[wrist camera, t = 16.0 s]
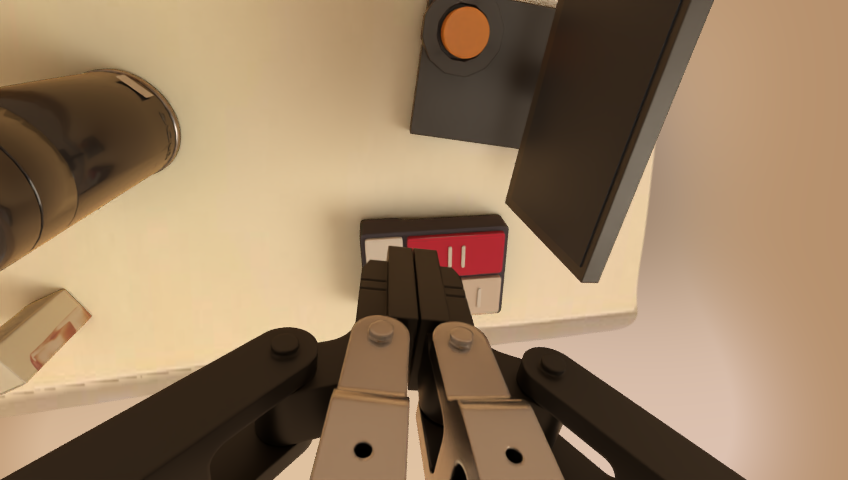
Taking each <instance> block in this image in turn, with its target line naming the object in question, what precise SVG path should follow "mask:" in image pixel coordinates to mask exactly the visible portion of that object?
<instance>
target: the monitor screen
mask: <svg viewBox="0 0 848 480" xmlns="http://www.w3.org/2000/svg"><path fill="white" fill-rule="evenodd" d="M713 1H714V0H558V3H557V7H556V10H555V14H554V18H553V22H552V26H551V30H550V33H549V37H548V41H547V45H546V49H545V52H544V56H543V60H542V64H541V68H540V71H539V75H538V79H537V83H536V87H535V90H534V94H533V98H532V102H531V106H530V109H529V113H528V117H527V121H526V125H525V129H524V132H523V136H522V140H521V144H520V148H519V151H518V155H517V159H516V163H515V167H514V170H513V174H512V178H511V182H510V186H509V189H508V193H507V197H506V201H505V203H506V204H507V205H508V206H509V207H510V208H511V209H512V211H513V212H514V213H515V214H516V215H517V216H518V217H519V218H520V219H521V220H522V221H523V222H524V223H525V224H526V225H527V226H528V227H529V228H530V229H531V230H532V232H533V233H534V234H535V235H536V236H537V237H538V238H539V239H540V240H541V241H542V242H543V243H544V244H545V245H546V246H547V247H548V248H549V249H550V250H551V251H552V252H553V254H554V255H555V256H556V257H557V258H558V259H559V260H560V261H561V262H562V263H563V264H564V265H565V266H566V267H567V268H568V269H569V270H570V271H571V272H572V273H573V274H574V276H575V277H576V278H577V279H578V280H579V281H580V282H581V283H598V282H599V279H600V277H601V275H602V272H603V270H604V267H605V265H606V262H607V260H608V258H609V255H610V253H611V250H612V248H613V245H614V243H615V240H616V238H617V236H618V233H619V231H620V228H621V226H622V223H623V221H624V218H625V216H626V214H627V211H628V209H629V206H630V204H631V201H632V199H633V197H634V194H635V192H636V189H637V187H638V184H639V182H640V179H641V177H642V175H643V172H644V170H645V167H646V165H647V162H648V160H649V158H650V155H651V153H652V150H653V148H654V145H655V143H656V140H657V138H658V136H659V133H660V131H661V128H662V126H663V123H664V121H665V118H666V116H667V114H668V111H669V109H670V106H671V104H672V101H673V99H674V96H675V94H676V91H677V89H678V87H679V84H680V82H681V79H682V77H683V75H684V72H685V70H686V67H687V65H688V62H689V60H690V57H691V55H692V52H693V50H694V48H695V45H696V43H697V40H698V38H699V36H700V33H701V31H702V28H703V26H704V23H705V21H706V18H707V16H708V14H709V11H710V9H711V6H712V4H713Z"/></svg>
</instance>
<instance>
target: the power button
mask: <svg viewBox="0 0 848 480" xmlns="http://www.w3.org/2000/svg"><path fill="white" fill-rule="evenodd" d="M489 34H490V29H489V23H488V21H487V19H486V17H485V15H484V14H483V13H482V12H481V11H480V10H478V9H476V8H474V7H461V8H457V9H455V10H453V11H452V12H450V13H449V14H448V15H447V16H446V18H445V19H444V21H443V24H442V27H441V40H442V43H443V45H444V47H445V48H446V50H447V51H448V52H449V53H451V54H452V55H454V56H456V57H458V58H462V59H468V58H472V57H475V56H477V55H478V54H479V53H481V52H482V51H483V49H484V48H485V46H486V45H487V42H488V39H489Z"/></svg>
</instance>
